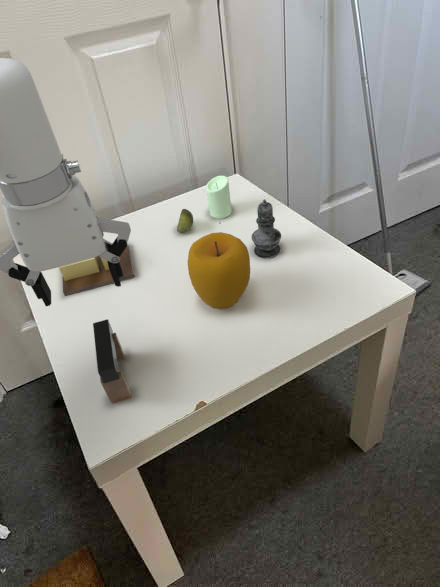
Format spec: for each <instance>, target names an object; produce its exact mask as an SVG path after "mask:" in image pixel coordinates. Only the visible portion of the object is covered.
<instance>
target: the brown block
mask: <svg viewBox="0 0 440 587" xmlns="http://www.w3.org/2000/svg"><path fill="white" fill-rule="evenodd" d="M113 336H114V343H115V350H116V357H117V362H118V361H121V360H125V359H126V355H125V352H124V350H123V347H122V344H121V342H120V340H119V337H118V335H117V333H116V332H113ZM118 371H119V378H120V379H118V380H115V381H111V382H108V383H104V384H103V382H102V380H101V378H100V377H99V380H100V381H99V382H100V384H101V386H102V388H103V390H104V392H105V394H106V396H107V398H108V400H109V402H110V404H113V403H116V402H120V401H124V400H126V399H130V398H132V392H131V389H130V386H129V385H128V383H127V380H126V378H125V375H124V374H123V371H122V370H118Z"/></svg>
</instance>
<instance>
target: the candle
mask: <svg viewBox="0 0 440 587" xmlns="http://www.w3.org/2000/svg"><path fill="white" fill-rule="evenodd" d="M205 191H206V197H207V202H208V210H209V215H210V216H211V217H212V218H214V219H225V218H227V217H229V216H230V215H231V214H232V210H233V209H232V200H231V193H230V183H229V178H228V177H227V176H226V175H217V176H214V177H213V178H211V179H210V180H209V181H208V182H207V183H206V186H205Z"/></svg>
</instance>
